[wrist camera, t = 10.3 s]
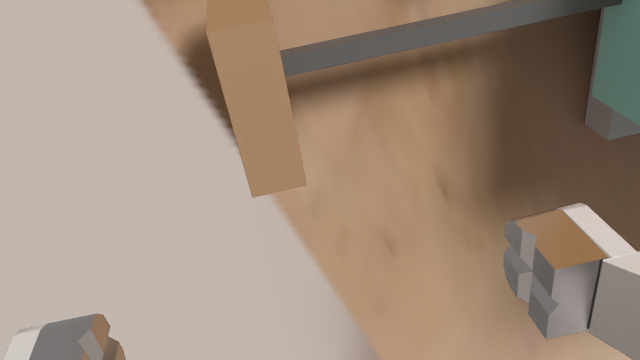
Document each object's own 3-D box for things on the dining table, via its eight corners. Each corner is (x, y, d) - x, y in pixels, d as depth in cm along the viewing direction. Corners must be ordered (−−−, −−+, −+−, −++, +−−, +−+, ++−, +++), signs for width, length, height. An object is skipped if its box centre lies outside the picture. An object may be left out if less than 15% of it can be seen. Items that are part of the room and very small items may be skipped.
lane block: (744, 60, 25) (904, 122, 19) (254, 172, 24) (269, 276, 18) (823, -187, 20) (1080, -204, 14) (191, -63, 18) (183, -24, 12)
